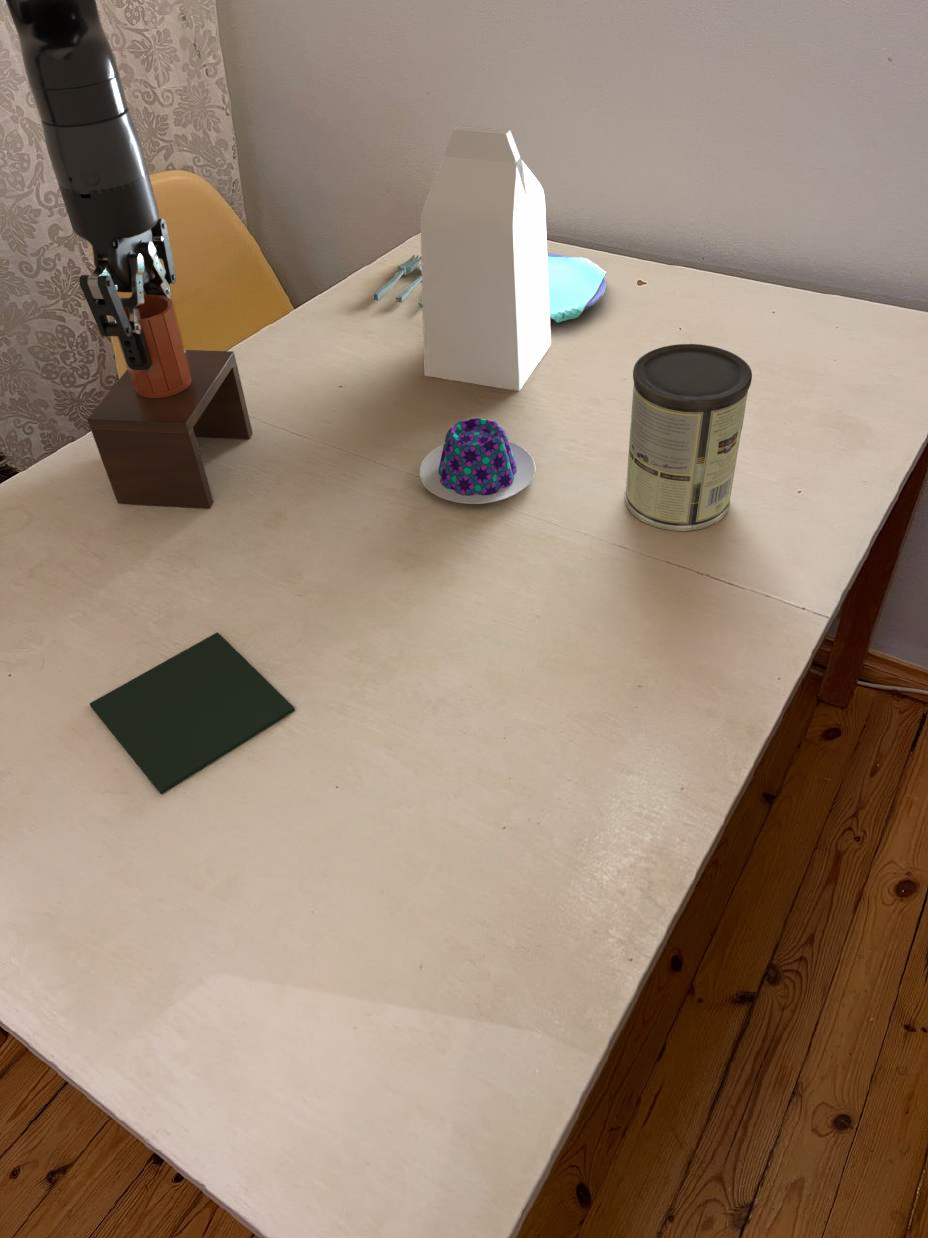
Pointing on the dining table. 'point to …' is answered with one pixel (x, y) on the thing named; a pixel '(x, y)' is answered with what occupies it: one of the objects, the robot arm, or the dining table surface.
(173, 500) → the shelf
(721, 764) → the dining table surface
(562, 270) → the cutlery set
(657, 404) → the coffee can
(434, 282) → the milk
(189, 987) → the dining table surface
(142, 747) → the mat
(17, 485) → the dining table surface
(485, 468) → the pudding
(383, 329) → the dining table surface
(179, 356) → the cup
